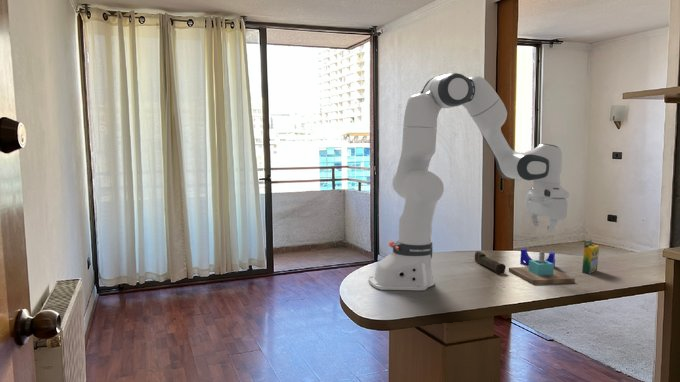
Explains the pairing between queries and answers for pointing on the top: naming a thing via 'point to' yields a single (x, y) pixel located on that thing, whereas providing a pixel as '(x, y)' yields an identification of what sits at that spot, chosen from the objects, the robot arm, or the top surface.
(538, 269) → the collar
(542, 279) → the post stand
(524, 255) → the blue curved cradle
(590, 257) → the crayon box
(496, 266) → the dark brown rod
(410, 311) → the top surface
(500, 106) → the robot arm
